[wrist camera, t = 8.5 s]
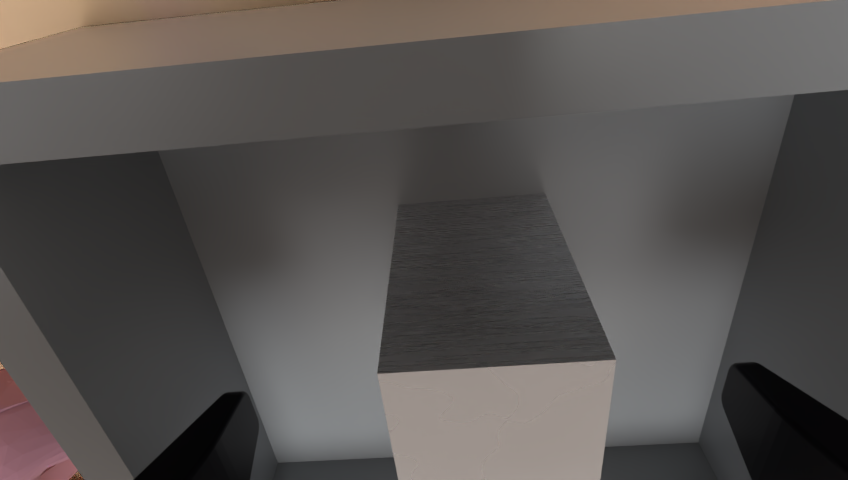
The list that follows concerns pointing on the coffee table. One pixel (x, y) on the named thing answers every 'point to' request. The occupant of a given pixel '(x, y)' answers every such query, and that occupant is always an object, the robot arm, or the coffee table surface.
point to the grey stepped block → (491, 346)
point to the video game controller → (27, 440)
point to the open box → (406, 184)
